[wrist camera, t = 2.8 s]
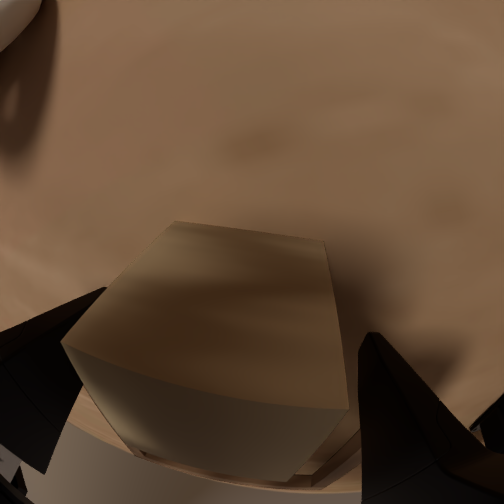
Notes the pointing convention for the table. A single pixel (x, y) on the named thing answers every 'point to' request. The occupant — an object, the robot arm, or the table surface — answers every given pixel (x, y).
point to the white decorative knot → (15, 18)
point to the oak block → (218, 351)
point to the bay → (320, 479)
